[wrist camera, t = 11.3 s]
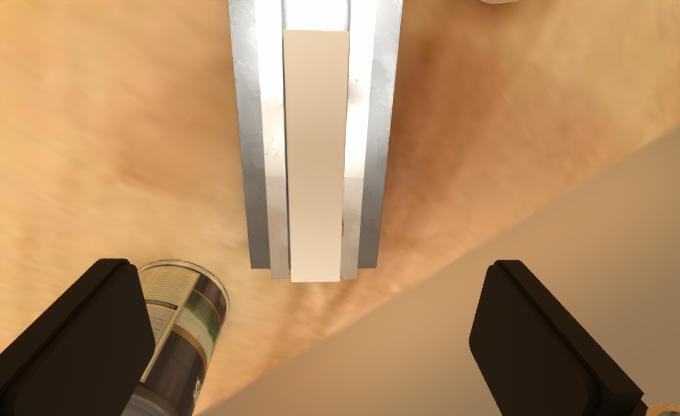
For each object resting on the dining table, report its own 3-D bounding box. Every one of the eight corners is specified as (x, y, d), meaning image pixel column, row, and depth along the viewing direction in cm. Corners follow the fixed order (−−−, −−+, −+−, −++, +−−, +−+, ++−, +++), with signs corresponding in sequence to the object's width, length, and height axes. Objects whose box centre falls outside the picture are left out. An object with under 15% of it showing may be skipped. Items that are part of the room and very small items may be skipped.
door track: (403, -57, 24) (421, -78, 20) (374, 259, 35) (381, 287, 31) (227, -68, 23) (207, -92, 19) (253, 259, 34) (245, 288, 30)
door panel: (342, 37, 25) (356, 32, 16) (336, 212, 31) (344, 281, 22) (296, 35, 25) (283, 29, 16) (299, 212, 30) (291, 282, 21)
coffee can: (248, 291, 36) (210, 427, 23) (198, 350, 39) (140, 499, 26) (154, 239, 33) (49, 364, 20) (108, 309, 36) (-8, 455, 23)
